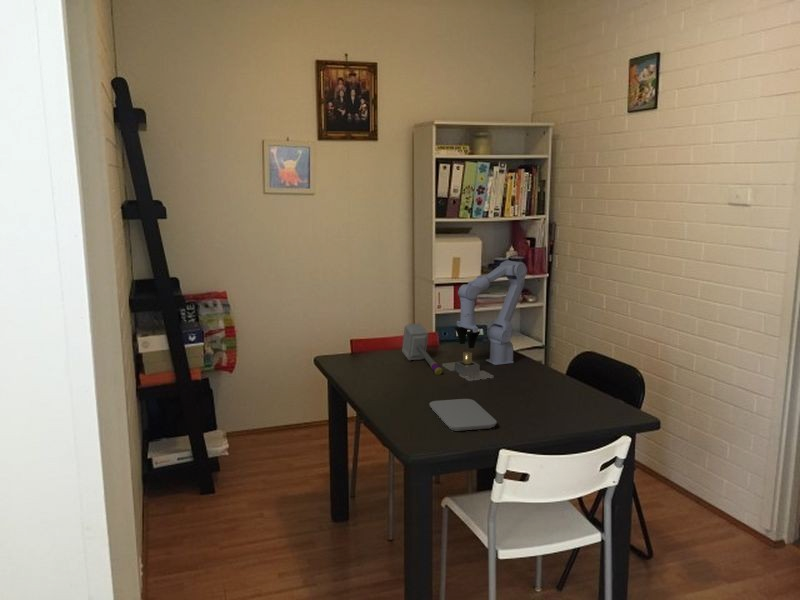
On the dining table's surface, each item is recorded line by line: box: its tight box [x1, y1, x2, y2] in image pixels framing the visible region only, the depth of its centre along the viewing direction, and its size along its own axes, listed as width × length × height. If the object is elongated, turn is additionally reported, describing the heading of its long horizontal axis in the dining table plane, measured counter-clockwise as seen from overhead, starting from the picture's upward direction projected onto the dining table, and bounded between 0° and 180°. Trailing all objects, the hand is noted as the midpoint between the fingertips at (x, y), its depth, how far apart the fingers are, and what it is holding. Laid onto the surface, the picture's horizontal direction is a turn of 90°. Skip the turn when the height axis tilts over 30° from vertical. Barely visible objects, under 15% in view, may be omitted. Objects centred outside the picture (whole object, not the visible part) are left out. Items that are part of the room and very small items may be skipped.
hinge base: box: [441, 360, 494, 382], centre depth 279 cm, size 11×23×4 cm, turn 23°
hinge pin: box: [462, 351, 473, 366], centre depth 279 cm, size 4×4×8 cm
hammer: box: [401, 322, 443, 376], centre depth 287 cm, size 15×8×30 cm
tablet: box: [429, 398, 498, 431], centre depth 226 cm, size 16×26×2 cm, turn 14°
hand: (466, 345), depth 284 cm, fingers open, 7 cm apart
